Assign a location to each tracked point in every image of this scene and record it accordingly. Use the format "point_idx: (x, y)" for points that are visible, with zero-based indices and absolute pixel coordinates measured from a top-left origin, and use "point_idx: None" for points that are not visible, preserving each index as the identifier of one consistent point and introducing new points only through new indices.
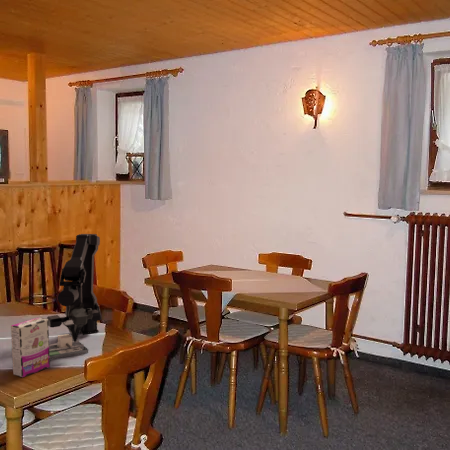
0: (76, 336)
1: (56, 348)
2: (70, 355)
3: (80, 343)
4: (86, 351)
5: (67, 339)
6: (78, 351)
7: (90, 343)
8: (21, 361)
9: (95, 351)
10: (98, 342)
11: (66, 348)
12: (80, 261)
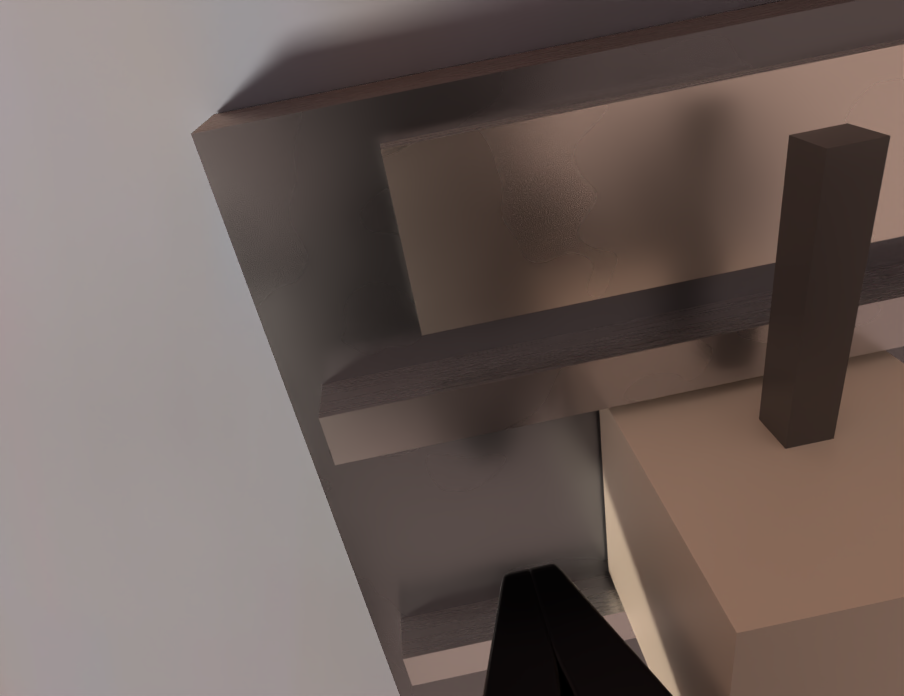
0: (529, 694)
1: None
2: (709, 20)
3: (375, 589)
4: (255, 108)
5: (859, 539)
6: (502, 67)
7: (182, 640)
8: None
9: (4, 155)
10: (27, 659)
11: None
12: None
